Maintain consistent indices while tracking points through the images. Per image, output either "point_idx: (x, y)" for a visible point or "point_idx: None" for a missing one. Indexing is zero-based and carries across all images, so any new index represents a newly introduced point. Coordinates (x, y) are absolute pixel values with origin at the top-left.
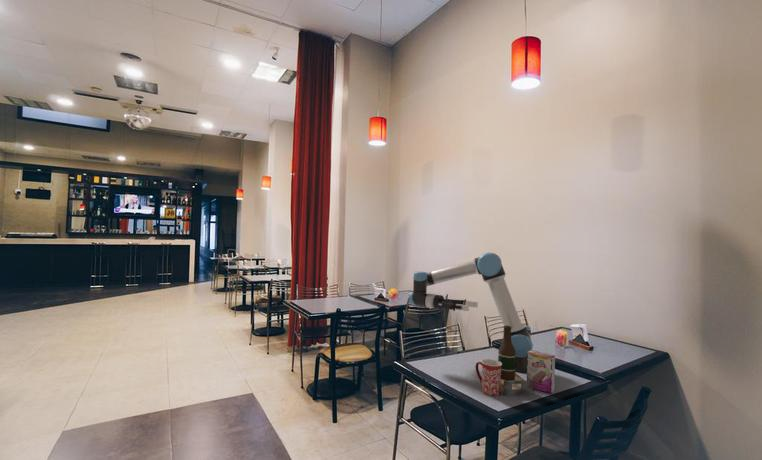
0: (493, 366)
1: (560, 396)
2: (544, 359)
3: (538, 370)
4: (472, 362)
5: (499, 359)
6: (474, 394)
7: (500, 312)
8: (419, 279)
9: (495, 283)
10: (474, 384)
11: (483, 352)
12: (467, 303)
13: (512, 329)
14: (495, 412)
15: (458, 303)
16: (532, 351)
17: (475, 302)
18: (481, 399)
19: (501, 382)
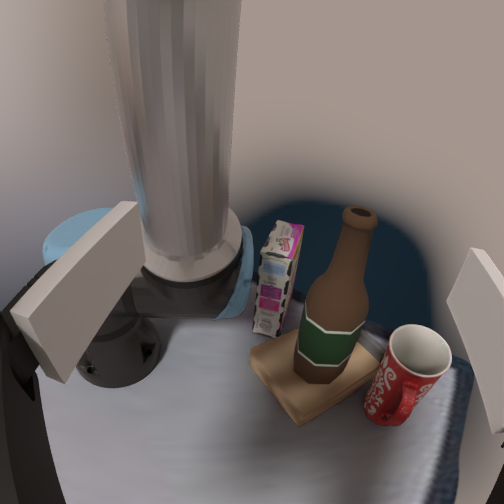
0: (442, 340)
1: (293, 288)
2: (300, 242)
3: (293, 279)
4: (105, 491)
5: (350, 342)
6: (424, 433)
7: (210, 183)
8: None
9: None
10: (357, 458)
11: None
12: (65, 321)
13: (234, 231)
14: (464, 371)
15: (45, 487)
16: (279, 249)
17: (126, 216)
18: (437, 411)
19: (364, 371)
